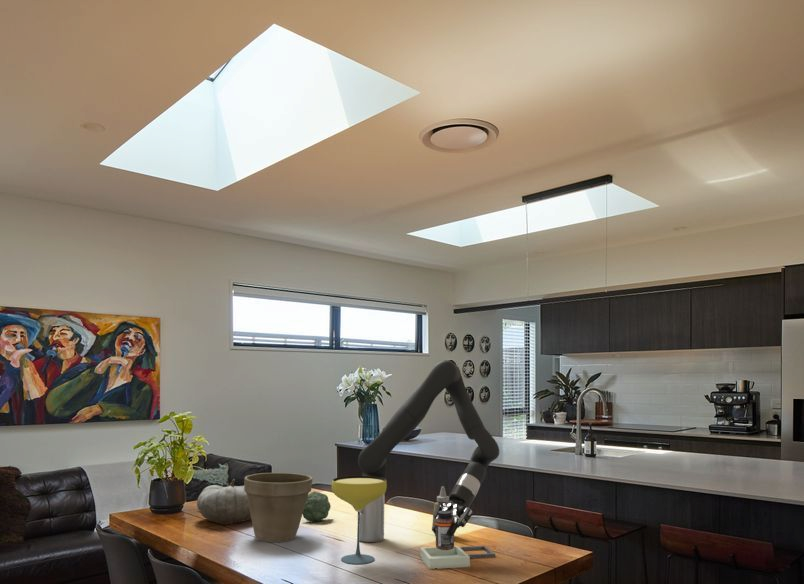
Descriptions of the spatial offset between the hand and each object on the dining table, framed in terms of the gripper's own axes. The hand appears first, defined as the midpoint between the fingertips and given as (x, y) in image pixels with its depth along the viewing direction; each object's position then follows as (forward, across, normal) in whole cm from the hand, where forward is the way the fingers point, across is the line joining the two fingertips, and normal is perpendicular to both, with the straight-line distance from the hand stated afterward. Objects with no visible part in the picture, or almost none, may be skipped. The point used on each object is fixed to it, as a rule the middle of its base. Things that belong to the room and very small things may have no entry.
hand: (441, 533), depth 198 cm
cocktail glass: (+19, -20, -6) cm, 28 cm away
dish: (+5, 0, +7) cm, 9 cm away
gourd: (+23, -98, -11) cm, 101 cm away
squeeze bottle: (-11, -23, +24) cm, 35 cm away
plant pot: (+22, -62, -10) cm, 67 cm away
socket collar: (-5, 0, +18) cm, 19 cm away
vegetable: (+3, -78, +10) cm, 78 cm away
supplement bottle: (+2, 0, +5) cm, 5 cm away
